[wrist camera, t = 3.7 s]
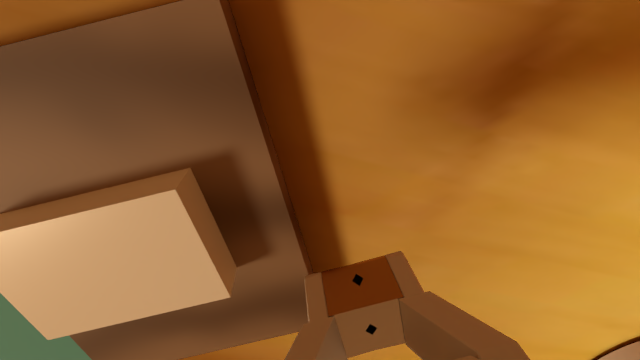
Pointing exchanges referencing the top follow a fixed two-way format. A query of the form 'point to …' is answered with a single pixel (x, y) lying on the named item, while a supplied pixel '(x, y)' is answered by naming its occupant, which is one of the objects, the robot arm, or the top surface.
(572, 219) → the top surface
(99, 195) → the tile
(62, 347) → the mat
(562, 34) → the top surface
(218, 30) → the brown wooden board
